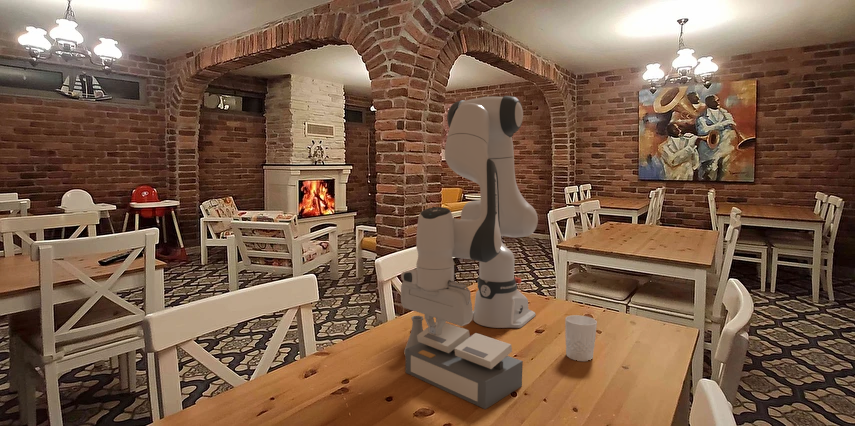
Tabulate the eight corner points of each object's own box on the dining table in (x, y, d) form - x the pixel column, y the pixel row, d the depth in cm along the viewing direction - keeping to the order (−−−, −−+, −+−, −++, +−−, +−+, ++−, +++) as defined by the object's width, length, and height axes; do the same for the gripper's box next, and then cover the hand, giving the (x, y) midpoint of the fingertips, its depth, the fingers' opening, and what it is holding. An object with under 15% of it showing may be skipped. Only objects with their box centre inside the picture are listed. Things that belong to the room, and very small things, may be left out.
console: (443, 355, 122) (444, 327, 121) (521, 386, 106) (522, 354, 105) (404, 372, 112) (405, 342, 111) (484, 409, 95) (485, 374, 95)
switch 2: (476, 339, 110) (475, 332, 110) (511, 351, 103) (511, 344, 103) (455, 355, 105) (454, 348, 104) (491, 369, 98) (490, 361, 97)
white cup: (569, 348, 128) (571, 313, 127) (598, 355, 123) (600, 318, 122) (559, 357, 121) (561, 321, 120) (590, 365, 117) (591, 327, 116)
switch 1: (439, 326, 118) (438, 319, 118) (469, 336, 111) (468, 329, 111) (417, 341, 113) (416, 334, 112) (448, 353, 106) (447, 346, 105)
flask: (427, 360, 119) (428, 323, 118) (400, 358, 120) (400, 321, 119) (432, 349, 126) (433, 314, 125) (407, 347, 128) (407, 312, 126)
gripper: (478, 282, 103) (478, 341, 105) (414, 267, 117) (414, 320, 119) (460, 288, 99) (460, 350, 100) (396, 272, 113) (396, 326, 114)
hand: (435, 333), depth 110 cm, fingers closed
